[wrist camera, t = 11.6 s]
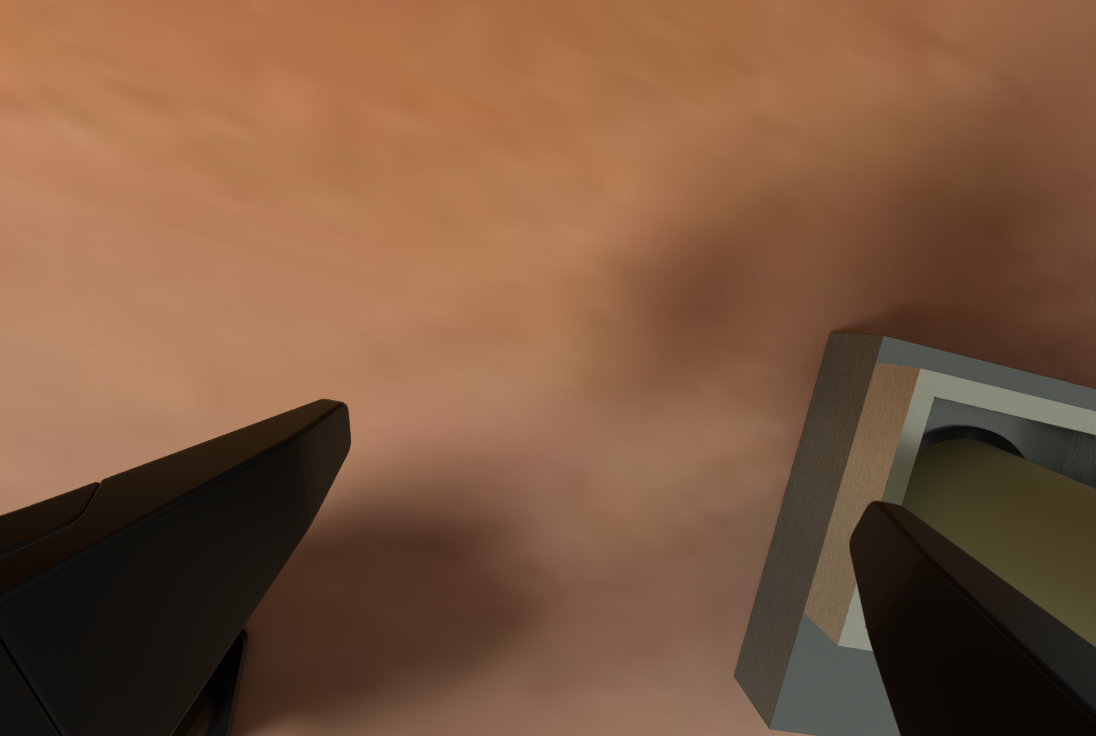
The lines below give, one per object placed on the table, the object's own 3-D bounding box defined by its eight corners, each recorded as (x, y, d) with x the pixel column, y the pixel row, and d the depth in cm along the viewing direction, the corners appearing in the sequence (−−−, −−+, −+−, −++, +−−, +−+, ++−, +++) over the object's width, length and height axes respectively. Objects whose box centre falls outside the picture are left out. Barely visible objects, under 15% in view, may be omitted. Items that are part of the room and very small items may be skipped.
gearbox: (995, 713, 25) (1117, 811, 21) (734, 676, 24) (799, 774, 19) (1099, 399, 24) (1258, 422, 19) (830, 331, 22) (929, 339, 17)
